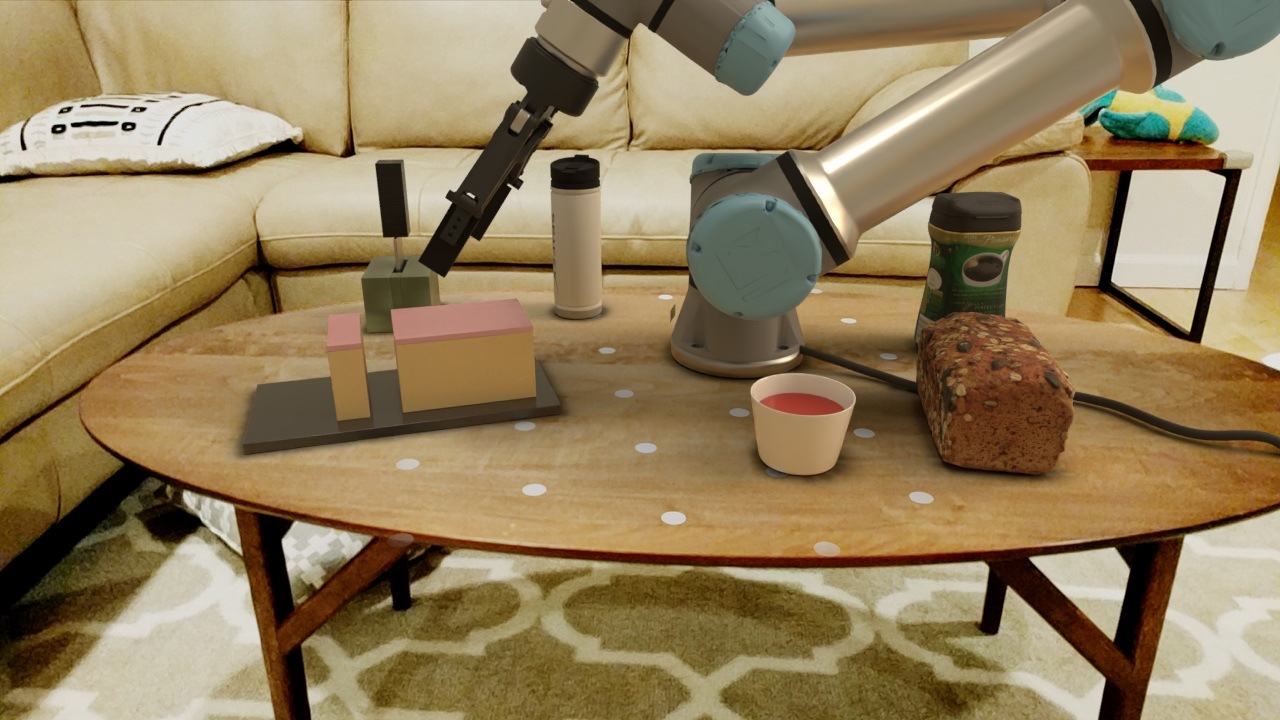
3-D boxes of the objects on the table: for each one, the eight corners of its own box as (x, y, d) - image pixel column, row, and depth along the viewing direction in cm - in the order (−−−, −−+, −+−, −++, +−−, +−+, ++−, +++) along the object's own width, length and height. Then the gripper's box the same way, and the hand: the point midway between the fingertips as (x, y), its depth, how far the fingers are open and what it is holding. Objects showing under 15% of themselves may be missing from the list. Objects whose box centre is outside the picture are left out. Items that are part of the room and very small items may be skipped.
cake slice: (368, 381, 90) (359, 312, 87) (370, 417, 82) (360, 342, 79) (338, 384, 89) (328, 314, 87) (337, 421, 81) (326, 346, 79)
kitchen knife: (419, 312, 114) (404, 158, 106) (415, 323, 110) (399, 164, 102) (396, 313, 113) (379, 158, 106) (391, 324, 109) (373, 164, 102)
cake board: (534, 362, 98) (534, 354, 97) (561, 414, 85) (561, 404, 85) (258, 393, 90) (257, 384, 89) (244, 454, 77) (242, 444, 77)
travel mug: (608, 305, 117) (606, 155, 109) (594, 321, 111) (592, 163, 103) (563, 302, 118) (559, 153, 110) (548, 317, 112) (542, 161, 104)
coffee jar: (979, 336, 106) (1003, 184, 99) (1011, 360, 99) (1040, 198, 92) (903, 338, 105) (922, 186, 98) (929, 363, 98) (952, 200, 91)
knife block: (440, 304, 117) (436, 254, 114) (433, 330, 107) (428, 276, 105) (379, 307, 116) (373, 256, 113) (367, 332, 106) (360, 278, 104)
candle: (812, 495, 71) (819, 426, 69) (726, 458, 77) (729, 394, 75) (867, 457, 77) (875, 392, 75) (784, 426, 83) (788, 365, 81)
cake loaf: (520, 364, 95) (517, 298, 92) (536, 397, 87) (533, 325, 84) (398, 377, 91) (390, 309, 88) (402, 413, 83) (394, 339, 80)
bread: (1062, 481, 74) (1086, 373, 70) (932, 470, 75) (948, 364, 72) (1014, 392, 91) (1030, 302, 87) (908, 384, 92) (920, 295, 89)
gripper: (552, 30, 88) (452, 202, 95) (501, 34, 64) (373, 262, 72) (614, 73, 89) (510, 240, 96) (586, 93, 66) (451, 311, 73)
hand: (451, 250), depth 84 cm, fingers open, 13 cm apart
